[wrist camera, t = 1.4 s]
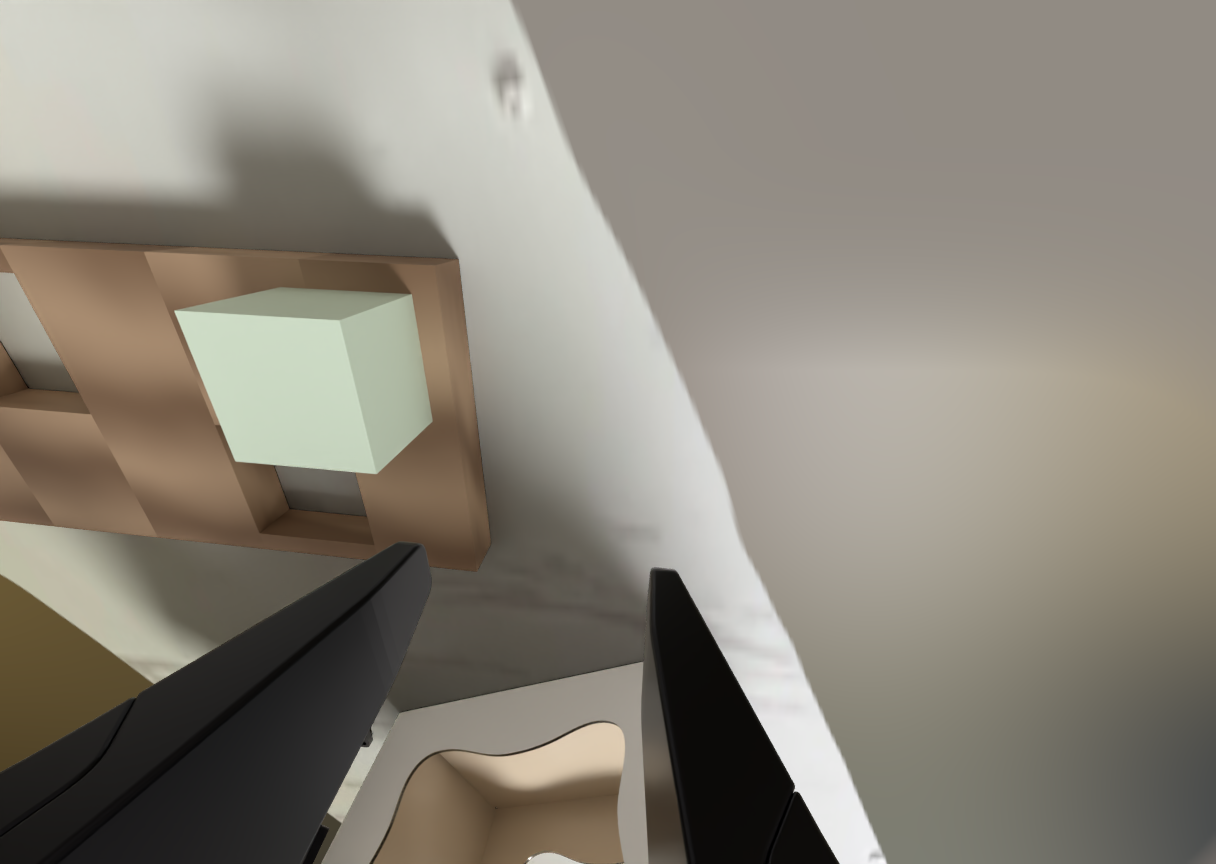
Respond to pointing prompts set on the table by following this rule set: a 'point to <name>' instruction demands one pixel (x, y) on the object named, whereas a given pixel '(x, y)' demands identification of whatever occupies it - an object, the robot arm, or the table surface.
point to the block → (312, 375)
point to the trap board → (187, 423)
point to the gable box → (508, 779)
